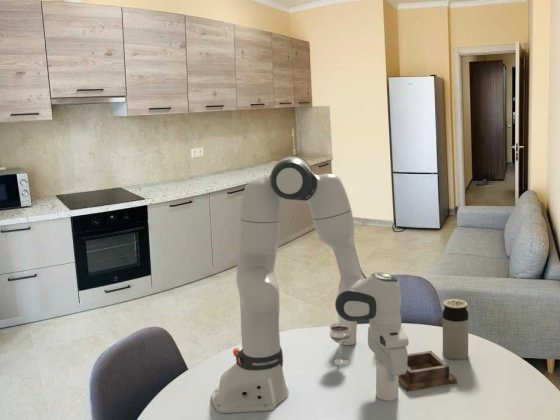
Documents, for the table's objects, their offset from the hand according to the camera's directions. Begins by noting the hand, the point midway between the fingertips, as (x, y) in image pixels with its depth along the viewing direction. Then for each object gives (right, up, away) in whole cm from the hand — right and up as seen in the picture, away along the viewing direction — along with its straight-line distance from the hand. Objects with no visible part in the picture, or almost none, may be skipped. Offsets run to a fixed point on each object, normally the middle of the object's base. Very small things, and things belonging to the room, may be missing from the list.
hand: (386, 375), depth 154 cm
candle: (0, -6, +1) cm, 6 cm away
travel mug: (+27, -1, +23) cm, 36 cm away
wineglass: (-10, -3, +23) cm, 26 cm away
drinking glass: (-6, 0, +37) cm, 37 cm away
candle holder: (+13, -4, +10) cm, 17 cm away
